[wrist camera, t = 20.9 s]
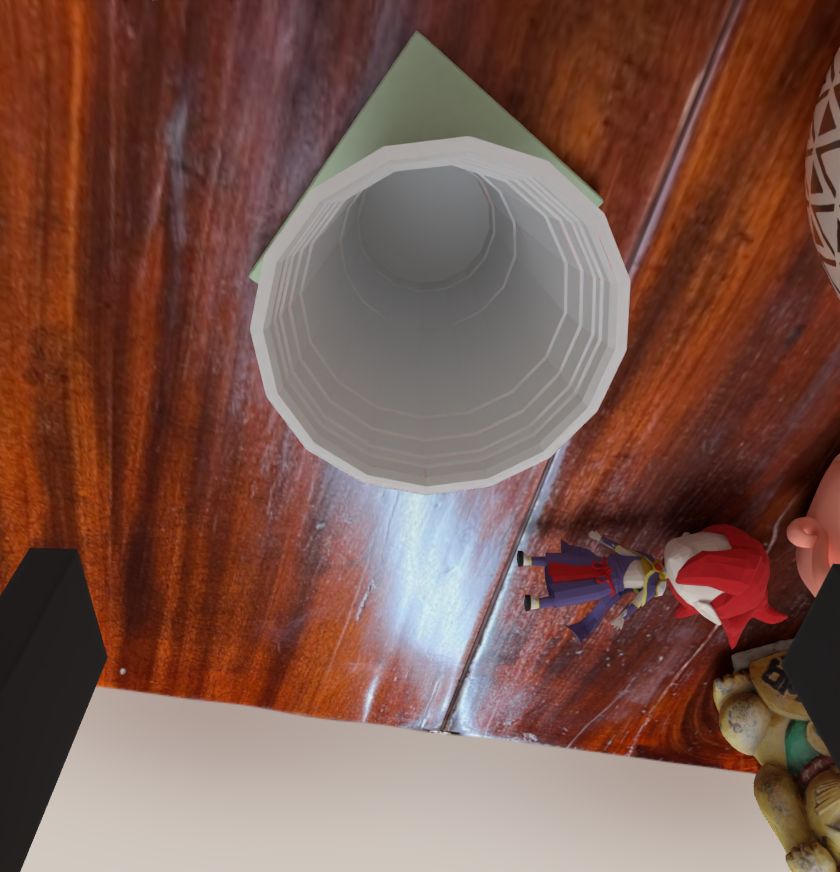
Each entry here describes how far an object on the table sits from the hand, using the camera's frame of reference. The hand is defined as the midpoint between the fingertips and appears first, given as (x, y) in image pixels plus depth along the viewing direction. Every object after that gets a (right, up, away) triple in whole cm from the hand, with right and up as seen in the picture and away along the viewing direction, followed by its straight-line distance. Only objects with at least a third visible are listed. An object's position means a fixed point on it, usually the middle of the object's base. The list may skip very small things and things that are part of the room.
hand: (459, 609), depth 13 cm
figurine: (+12, -3, +29) cm, 32 cm away
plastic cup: (0, +12, +17) cm, 21 cm away
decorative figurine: (+24, -13, +36) cm, 45 cm away
